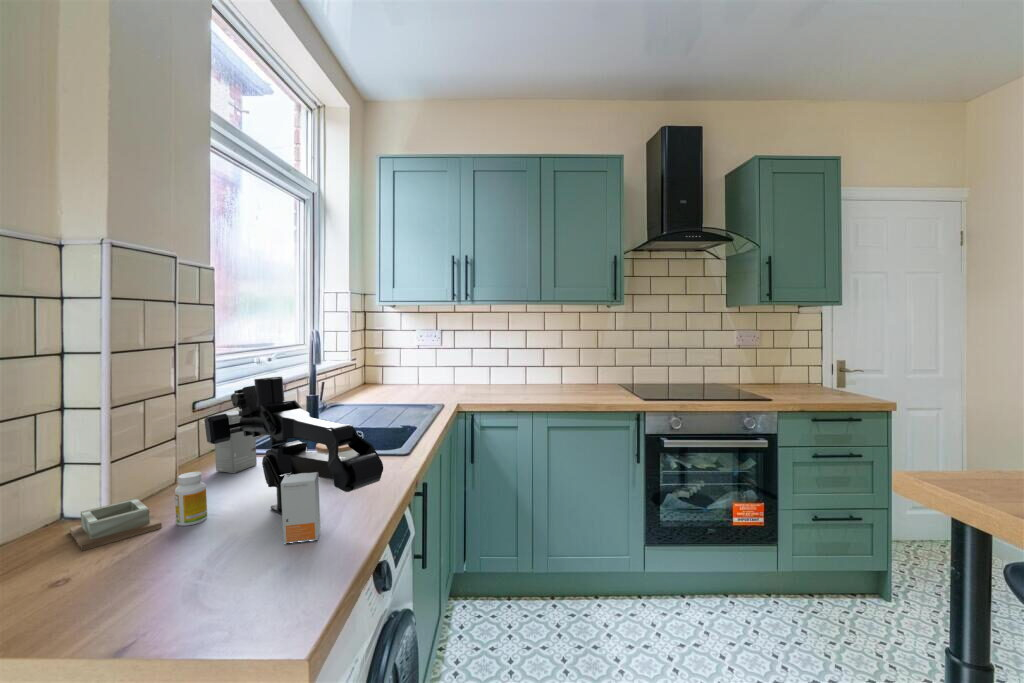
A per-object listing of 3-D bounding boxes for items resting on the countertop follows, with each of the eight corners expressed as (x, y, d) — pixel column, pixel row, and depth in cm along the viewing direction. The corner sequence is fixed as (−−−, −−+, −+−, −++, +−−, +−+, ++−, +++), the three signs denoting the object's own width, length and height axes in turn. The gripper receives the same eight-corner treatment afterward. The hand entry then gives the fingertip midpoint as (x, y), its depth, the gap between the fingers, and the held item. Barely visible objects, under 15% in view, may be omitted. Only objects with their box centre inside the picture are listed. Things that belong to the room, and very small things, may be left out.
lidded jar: (357, 463, 137) (356, 430, 137) (359, 474, 127) (358, 439, 127) (316, 468, 134) (315, 434, 133) (316, 480, 124) (315, 444, 123)
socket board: (161, 527, 96) (160, 508, 96) (82, 550, 87) (81, 529, 87) (144, 512, 104) (143, 494, 104) (69, 532, 95) (68, 512, 94)
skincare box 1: (233, 474, 129) (231, 415, 128) (213, 471, 131) (210, 414, 130) (258, 464, 137) (256, 409, 136) (239, 462, 139) (237, 408, 138)
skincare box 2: (283, 546, 88) (279, 483, 87) (287, 534, 92) (284, 474, 91) (318, 541, 90) (315, 480, 88) (321, 530, 94) (318, 471, 92)
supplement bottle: (213, 515, 102) (211, 470, 101) (194, 526, 97) (192, 479, 96) (189, 515, 103) (187, 470, 102) (169, 526, 97) (167, 478, 97)
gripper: (299, 381, 118) (267, 382, 127) (217, 394, 103) (187, 395, 112) (305, 426, 118) (272, 424, 127) (224, 446, 103) (193, 442, 112)
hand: (234, 420), depth 119 cm, fingers open, 9 cm apart
